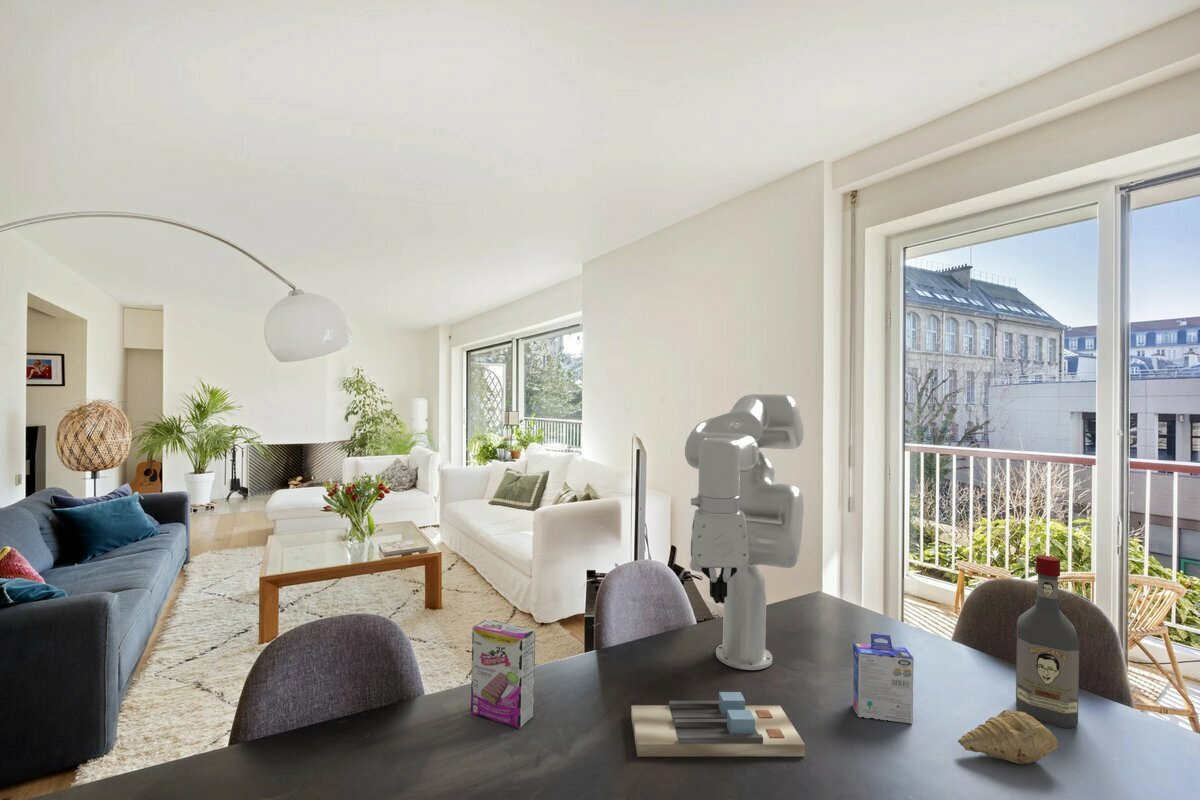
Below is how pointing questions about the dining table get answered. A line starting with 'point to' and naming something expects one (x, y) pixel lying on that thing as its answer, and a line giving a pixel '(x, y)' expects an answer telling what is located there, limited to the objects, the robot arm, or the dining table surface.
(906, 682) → the ink cartridge box
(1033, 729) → the seashell
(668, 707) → the switch board
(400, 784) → the dining table surface
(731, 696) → the tab
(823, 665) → the dining table surface
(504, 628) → the candy bar box
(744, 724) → the tab
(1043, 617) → the liquor
